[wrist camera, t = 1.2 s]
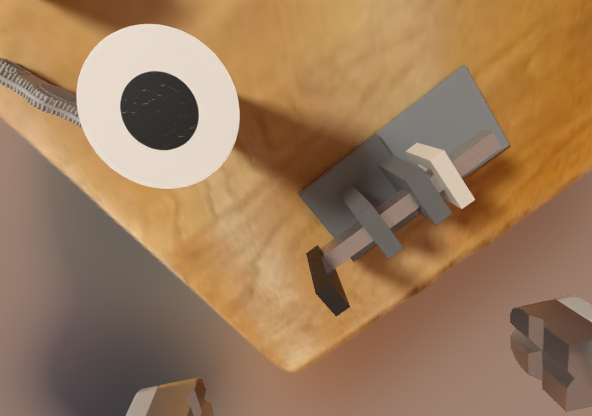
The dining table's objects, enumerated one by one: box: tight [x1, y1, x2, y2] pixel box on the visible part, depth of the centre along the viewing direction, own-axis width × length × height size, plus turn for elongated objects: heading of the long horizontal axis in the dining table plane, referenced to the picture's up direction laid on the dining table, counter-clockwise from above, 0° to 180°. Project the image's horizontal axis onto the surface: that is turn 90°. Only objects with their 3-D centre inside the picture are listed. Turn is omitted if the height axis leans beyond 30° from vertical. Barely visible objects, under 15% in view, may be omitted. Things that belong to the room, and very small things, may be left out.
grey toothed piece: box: [0, 58, 83, 129], centre depth 36 cm, size 12×2×6 cm, turn 58°
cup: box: [76, 24, 240, 189], centre depth 32 cm, size 11×11×18 cm
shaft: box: [306, 130, 502, 316], centre depth 34 cm, size 23×3×8 cm, turn 128°
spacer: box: [405, 143, 475, 209], centre depth 37 cm, size 2×6×6 cm, turn 38°
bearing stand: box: [299, 134, 452, 262], centre depth 40 cm, size 12×12×10 cm
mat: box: [375, 65, 509, 179], centre depth 43 cm, size 13×12×1 cm
